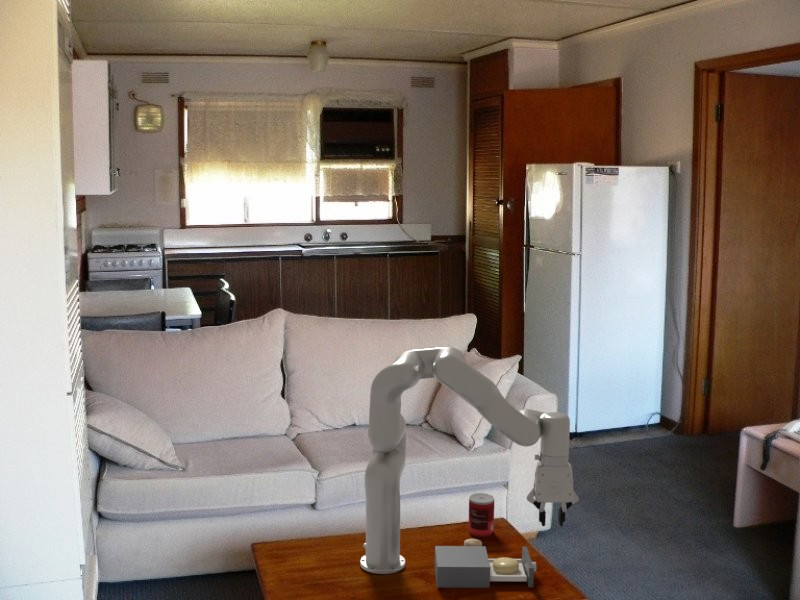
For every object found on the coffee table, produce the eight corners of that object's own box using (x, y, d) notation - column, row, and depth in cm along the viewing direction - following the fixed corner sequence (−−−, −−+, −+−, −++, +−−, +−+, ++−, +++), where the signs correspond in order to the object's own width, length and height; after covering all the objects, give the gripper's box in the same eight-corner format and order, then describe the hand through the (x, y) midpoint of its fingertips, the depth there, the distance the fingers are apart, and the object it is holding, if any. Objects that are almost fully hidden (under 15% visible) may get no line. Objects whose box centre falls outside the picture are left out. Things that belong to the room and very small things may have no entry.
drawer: (478, 587, 247) (479, 567, 246) (474, 564, 260) (474, 546, 259) (539, 587, 247) (539, 568, 246) (531, 564, 260) (532, 546, 260)
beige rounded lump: (460, 555, 266) (460, 540, 266) (474, 552, 269) (475, 537, 268) (470, 562, 262) (470, 547, 261) (484, 558, 265) (485, 543, 264)
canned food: (487, 525, 288) (488, 491, 286) (497, 535, 280) (498, 501, 279) (464, 528, 285) (464, 494, 284) (474, 539, 278) (475, 503, 276)
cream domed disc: (503, 577, 249) (503, 570, 248) (487, 567, 255) (487, 560, 254) (523, 571, 252) (524, 565, 252) (507, 561, 258) (508, 555, 258)
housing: (436, 587, 247) (437, 566, 246) (434, 565, 260) (435, 545, 259) (489, 587, 247) (490, 567, 246) (484, 565, 260) (485, 546, 259)
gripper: (524, 463, 245) (522, 529, 248) (588, 464, 245) (585, 530, 248) (520, 454, 252) (518, 518, 255) (582, 454, 252) (579, 519, 255)
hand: (551, 523), depth 251 cm, fingers open, 4 cm apart
